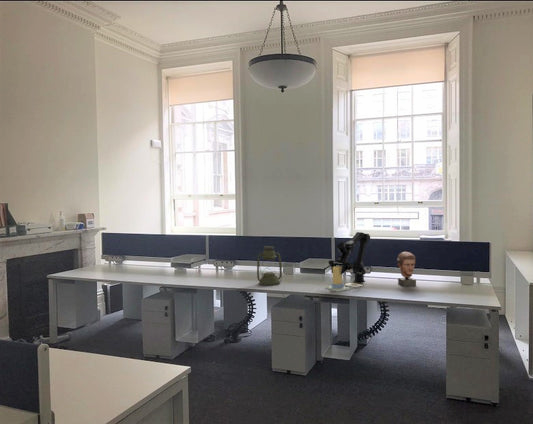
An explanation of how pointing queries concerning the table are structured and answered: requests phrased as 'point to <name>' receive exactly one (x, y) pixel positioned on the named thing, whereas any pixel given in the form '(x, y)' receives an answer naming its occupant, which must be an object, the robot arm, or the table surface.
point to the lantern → (269, 277)
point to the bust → (406, 268)
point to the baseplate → (337, 289)
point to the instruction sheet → (353, 284)
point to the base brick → (337, 286)
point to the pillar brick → (337, 275)
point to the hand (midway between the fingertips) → (336, 273)
